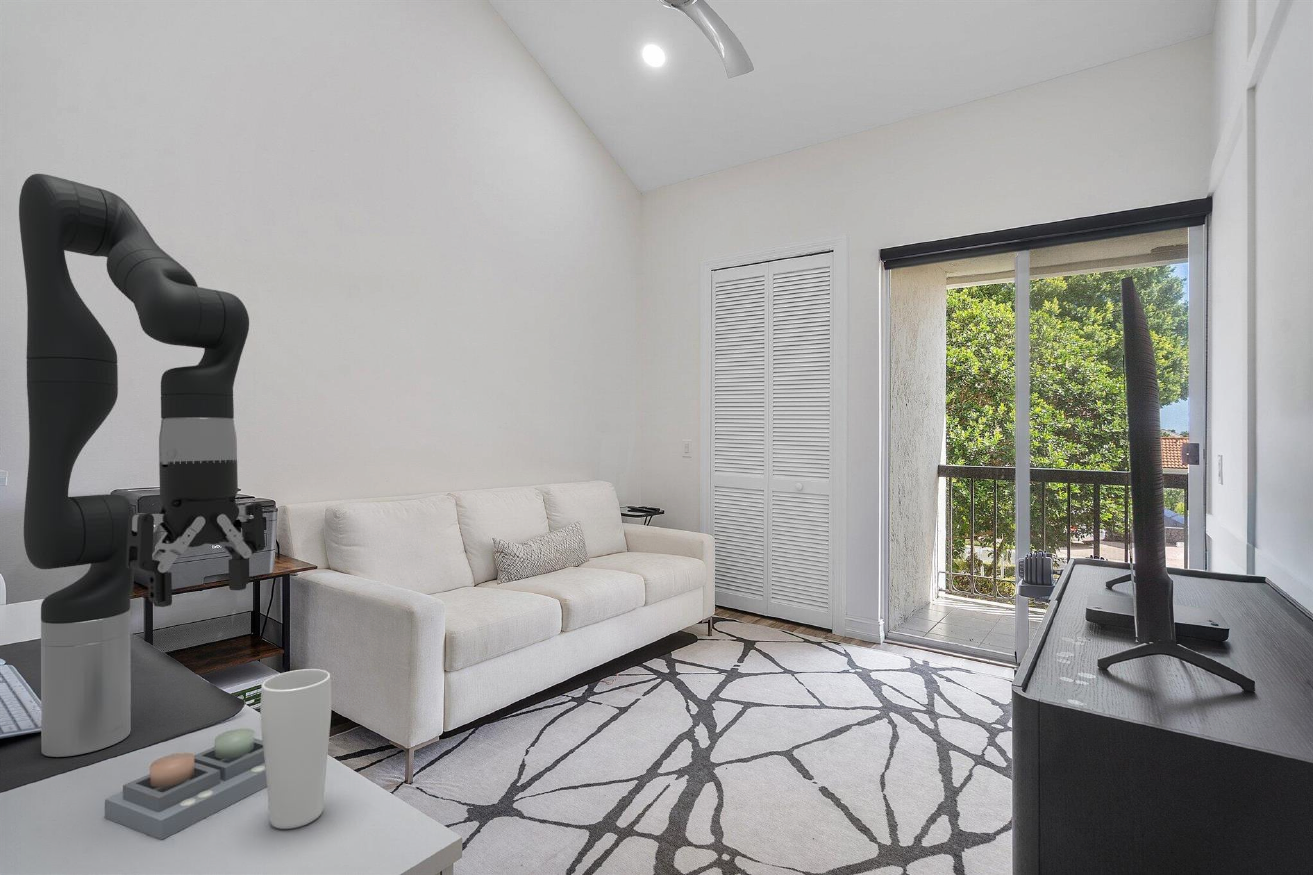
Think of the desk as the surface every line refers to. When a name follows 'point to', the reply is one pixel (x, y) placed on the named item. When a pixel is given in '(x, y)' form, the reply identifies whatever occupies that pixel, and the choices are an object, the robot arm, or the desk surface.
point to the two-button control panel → (188, 793)
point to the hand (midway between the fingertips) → (201, 597)
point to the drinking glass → (296, 744)
